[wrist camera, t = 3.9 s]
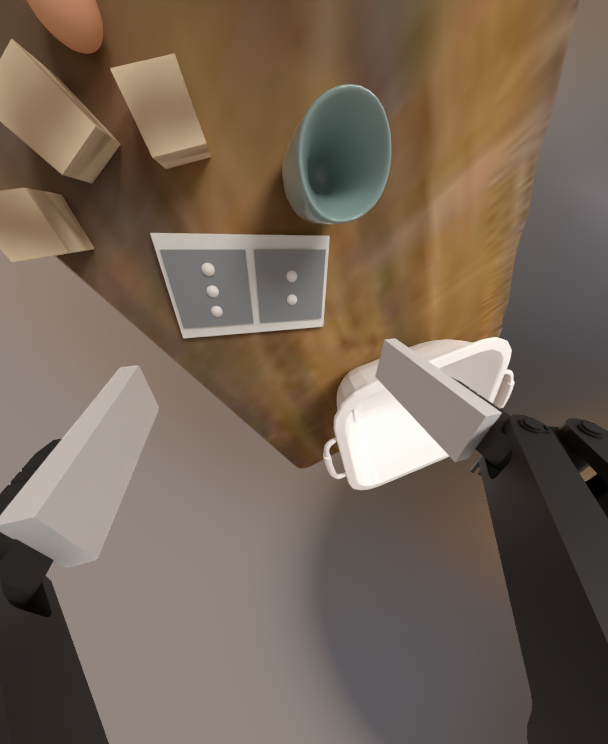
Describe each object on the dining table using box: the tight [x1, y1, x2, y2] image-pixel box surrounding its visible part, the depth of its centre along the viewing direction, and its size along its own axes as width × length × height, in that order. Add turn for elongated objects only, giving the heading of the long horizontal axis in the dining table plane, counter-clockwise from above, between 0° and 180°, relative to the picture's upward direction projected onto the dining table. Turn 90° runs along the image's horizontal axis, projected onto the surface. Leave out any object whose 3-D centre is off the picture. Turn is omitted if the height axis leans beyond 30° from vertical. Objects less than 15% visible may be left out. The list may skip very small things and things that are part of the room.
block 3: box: [110, 53, 211, 169], centre depth 18 cm, size 4×4×4 cm
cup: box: [282, 84, 391, 225], centre depth 20 cm, size 8×8×10 cm
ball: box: [26, 0, 103, 54], centre depth 14 cm, size 4×4×4 cm
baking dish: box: [323, 337, 514, 490], centre depth 41 cm, size 34×28×13 cm
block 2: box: [0, 188, 95, 263], centre depth 19 cm, size 4×4×4 cm
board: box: [150, 233, 330, 338], centre depth 28 cm, size 12×20×1 cm, turn 89°
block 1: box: [0, 39, 121, 183], centre depth 17 cm, size 4×4×4 cm
